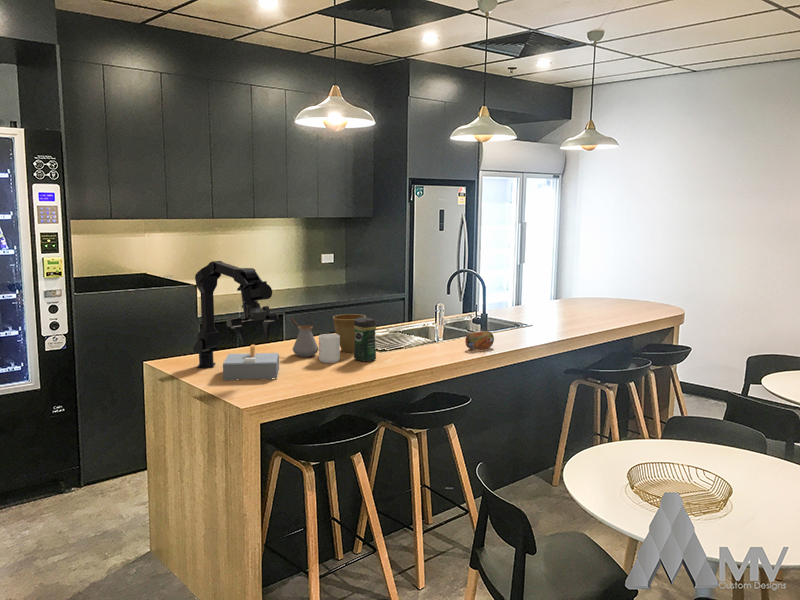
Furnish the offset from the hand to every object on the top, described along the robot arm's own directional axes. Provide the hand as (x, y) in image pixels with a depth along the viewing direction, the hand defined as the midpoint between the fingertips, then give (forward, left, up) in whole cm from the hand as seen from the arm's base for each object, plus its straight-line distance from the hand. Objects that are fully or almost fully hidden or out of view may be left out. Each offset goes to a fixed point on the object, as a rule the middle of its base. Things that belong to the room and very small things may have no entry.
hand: (255, 342), depth 247 cm
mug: (-28, +28, -15) cm, 42 cm away
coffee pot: (-43, +16, -15) cm, 48 cm away
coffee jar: (-28, +44, -15) cm, 54 cm away
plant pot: (-46, +38, -15) cm, 61 cm away
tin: (-46, +99, -15) cm, 110 cm away
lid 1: (-11, -2, -8) cm, 14 cm away
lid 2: (-3, -2, -8) cm, 9 cm away
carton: (-7, -2, -15) cm, 16 cm away
